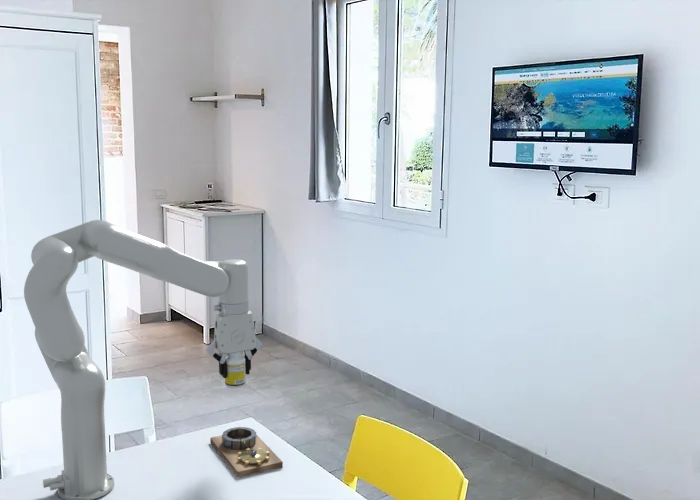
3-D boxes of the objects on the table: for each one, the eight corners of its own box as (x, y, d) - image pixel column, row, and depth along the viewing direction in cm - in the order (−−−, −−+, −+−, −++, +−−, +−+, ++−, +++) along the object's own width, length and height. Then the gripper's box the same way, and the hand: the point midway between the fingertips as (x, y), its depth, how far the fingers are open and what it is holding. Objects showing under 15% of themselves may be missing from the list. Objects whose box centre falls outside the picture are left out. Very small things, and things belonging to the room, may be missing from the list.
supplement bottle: (229, 380, 189) (229, 345, 188) (248, 382, 188) (248, 347, 187) (221, 387, 184) (221, 351, 183) (241, 389, 183) (240, 353, 181)
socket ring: (229, 452, 186) (228, 443, 185) (218, 439, 193) (218, 430, 193) (260, 445, 190) (260, 437, 190) (249, 433, 198) (248, 424, 197)
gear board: (238, 477, 176) (237, 471, 175) (210, 442, 195) (210, 437, 194) (282, 467, 181) (282, 461, 181) (251, 434, 200) (251, 429, 200)
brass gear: (243, 468, 177) (243, 461, 177) (232, 455, 184) (232, 447, 184) (274, 461, 181) (274, 454, 181) (262, 448, 188) (262, 441, 188)
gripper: (205, 315, 175) (207, 384, 179) (270, 307, 183) (271, 374, 187) (197, 308, 182) (199, 375, 185) (260, 301, 190) (261, 365, 193)
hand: (235, 374), depth 186 cm, fingers closed on supplement bottle, 5 cm apart
